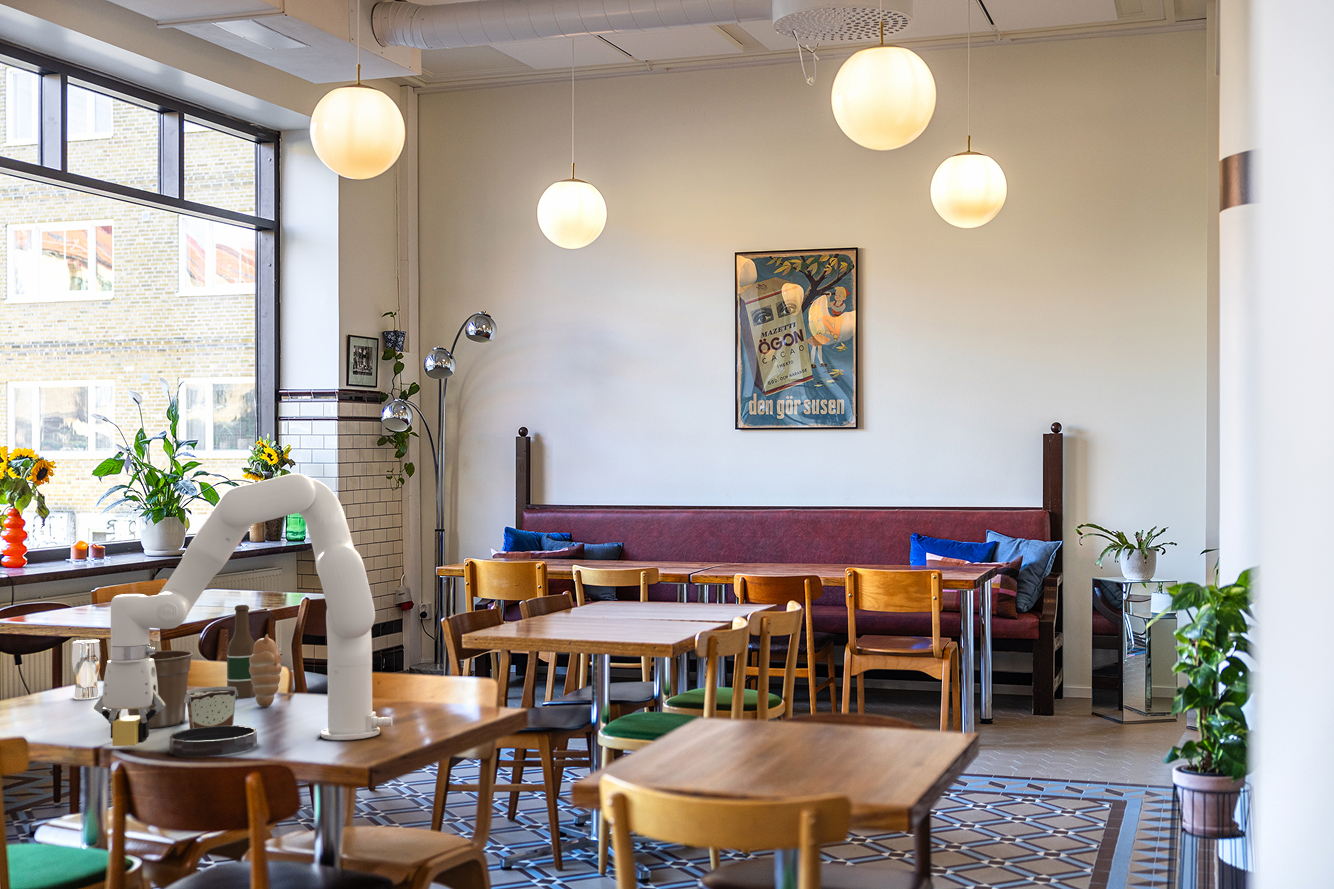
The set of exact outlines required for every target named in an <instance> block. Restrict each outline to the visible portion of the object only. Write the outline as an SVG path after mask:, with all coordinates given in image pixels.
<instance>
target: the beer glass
mask: <svg viewBox="0 0 1334 889" xmlns="http://www.w3.org/2000/svg"><path fill="white" fill-rule="evenodd" d="M100 642H101V641H100V640H99V639H85V640H76V641H73V642H72V649H71V651H72V652H71V664H72V670H73V676H74V682H75V688H74V689H75V690H74V695H73V699H74V700H77V701H84V700H85V701H86V700H94V699H99V697H100V694H99V686H98V679H99V673H100V668H101V662H102V661H101V659H102V658H101V657H102V656H101V643H100Z"/></svg>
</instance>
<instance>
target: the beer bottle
mask: <svg viewBox="0 0 1334 889" xmlns="http://www.w3.org/2000/svg"><path fill="white" fill-rule="evenodd" d="M249 610H250V607H249V605H247V604H238V605H235V607H234V611H235V615H234V616H235V618H234V632H233V636H232V638H231V640H230V641H229V642H228V645H227V648H226V649H227V651H226V687H236V690H237V691H238V696H236V699H246V698H247V699H248V698H249V699H250V698H253V697H256V694H255V693H254V692H253V685H252V683H251V675H250V673H249V667H250V663H249V659H250V656H251V655H252V654H253V647H254V644H255V642H256V641H255V640H254V638H253V637H252V636H251V631H250V618H249Z"/></svg>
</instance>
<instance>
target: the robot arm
mask: <svg viewBox="0 0 1334 889" xmlns="http://www.w3.org/2000/svg"><path fill="white" fill-rule="evenodd" d="M295 514H299V516H301V518H302V519H303V521H304V522H305V525H306V528H307V532H308V536H309V539H310V543H311V546H312V551H313V555H314V560H315V561H314V562H315V570H316V573H317V575H318V577H319V582H320V584H321V588H322V592H323V597H324V600H325V604H326V605H325V606H326V612H325V625H326V641H327V642H326V643H327V644H326V645H327V646H326V647H327V728H324V729H322V730H321V731H320V737H321V738H322V739H324V740H330V741H353V740H355V741H356V740H362V739H363V740H364V739H368V738H369V739H370V738H373V737H376V736H378V735H380V733H381V729H380V728H381V727H383V728H384V727H393V720H394V719H393V717H389V716H382V717H379V716H376V715H377V712H376V711H373V641H372V640H373V639H372V638H373V637H372V627H373V626H374V623H375V620H376V610H375V609H376V608H375V605H374V599H373V596H372V591H371V589H370V588H371V587H370V583H369V579H368V575H367V571H366V568H365V563H364V561H363V559H362V556H361V555H360V553H359V552H358V551H357V549H355V548H356V547H355V545H354V543H353V542H354V541H353V539H352V538H353V537H352V535H351V534H352V533H351V531H350V527H349V525H348V522H347V521H348V520H347V518H346V514H345V512H344V508H343V506H342V504H341V501H340V500H339V498H338V497H337V495H336V494H335V492H333V490H331V489H330V488H329V487H328V486H327V485H326V484H325V483H323V482H321V481H320V480H318V479H315V478H312V477H311V476H307V475H305V474H302V473H299V472H293V473H292V472H291V473H287V474H284V475H280V476H276V477H272V478H269V479H265V480H261V481H257V482H252V483H248V484H243V485H238V486H233V487H231V488H229V489H227V490H226V491H225V492H224V493H223V494H222V496H221V497H220V499H219V500H218V502H217V503H216V505H215V506H214V508H213V509H212V511H210V513H209V515H208V516H207V518H206V519H205V521H203V524H202V525H201V527H200V528H199V529H198V531H197V532H196V534H195V535H194V536H193V538H192V539H191V540H190V543H189V544H188V546H187V548H186V550H185V552H184V555H183V556H182V558H181V560H180V562H179V563H178V565H177V566H176V568H175V569H174V570H173V572H172V573H171V575H170V577H169V578H168V579H167V581H166V583H165V584H164V585H163V587H162V589H161V590H160V591H159V592H158V594H154V595H147V594H143V593H125V594H118V595H115V596H113V597H112V599H111V601H110V660H107V662H106V666H105V671H104V677H103V684H102V685H103V686H102V694H101V696H100V698H98V700H97V702H96V703H95V704H94V706H93V709H94V710H95V711H96V712H98V713H99V714H100V715H102V717H104V718H105V719H106V721H107V722H108V724H109V725H110V739H112V740H113V721H115V720H117V719H119V718H121V713H122V710H128V709H138V711H139V715H140V719H141V720H140V723H139V725H138V742H139V743H138V744H143V743H144V742H146V741H147V740H148V738H149V736H150V728H149V721H150V720H151V719H152V718H153V717H154V716H155V715H156V714H157V713H158V712H159V711H160V710H162V709H163V708H164V707H165V706H166V704H165V703H164V701H163V700H162V699H161V697H160V696H159V695H158V684H157V674H156V668H155V663H154V659H149V657H150V655H152V654H156V651H157V647H153V646H151V643H150V642H151V641H150V640H151V639H150V630H151V629H161V630H171V629H176V628H178V627H179V626H181V625H182V624H183V623H184V622H185V620H186V619H187V616H188V614H189V613H190V612H191V610H192V608H193V607H194V605H195V604H196V603H197V601H198V600H199V598H200V596H201V595H202V594H203V592H204V591H205V589H206V588H207V586H208V585H209V584H210V582H211V581H212V580H213V579H214V577H215V576H216V575H217V574H219V572H220V571H221V570H222V569H224V566H225V565H226V564H227V562H228V561H229V560H230V558H231V557H232V555H233V554H234V552H235V550H236V549H237V547H238V546H239V545H240V543H241V542H242V540H243V539H244V537H245V536H246V534H247V533H248V532H249V530H250V528H251V527H252V525H255V524H259V523H264V522H267V521H268V522H269V521H271V520H275V519H279V518H283V517H286V516H291V515H295ZM154 704H156V706H155V707H154V708H153V709H151V710H149V707H150V706H151V705H154Z"/></svg>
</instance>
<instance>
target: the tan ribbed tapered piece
mask: <svg viewBox="0 0 1334 889" xmlns="http://www.w3.org/2000/svg"><path fill="white" fill-rule="evenodd" d="M281 662H282V656H281V654H280V652H279V651H278V647H277V643H276V642H275V641H274V640H273V639H272V638H270V637H269V634H268V633H267V634H265V636H264V637H262V638H259V639H257V640H256V641H255V644H254V647H253V654H252V655H251V656H250V659H249V663H250V667H249V673H250V675H251V683H252V685H253V692H254V693H255V694H256V696H255V701H256V703H257V705H258V706H259V707H261V708H268V707H270V706H271V705H272V704H273V702H274V701H275V695H276V694H277V692H278V691H279V684H280V681H281V675H280V674H281V672H282V668H283V666H282V664H281Z"/></svg>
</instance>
